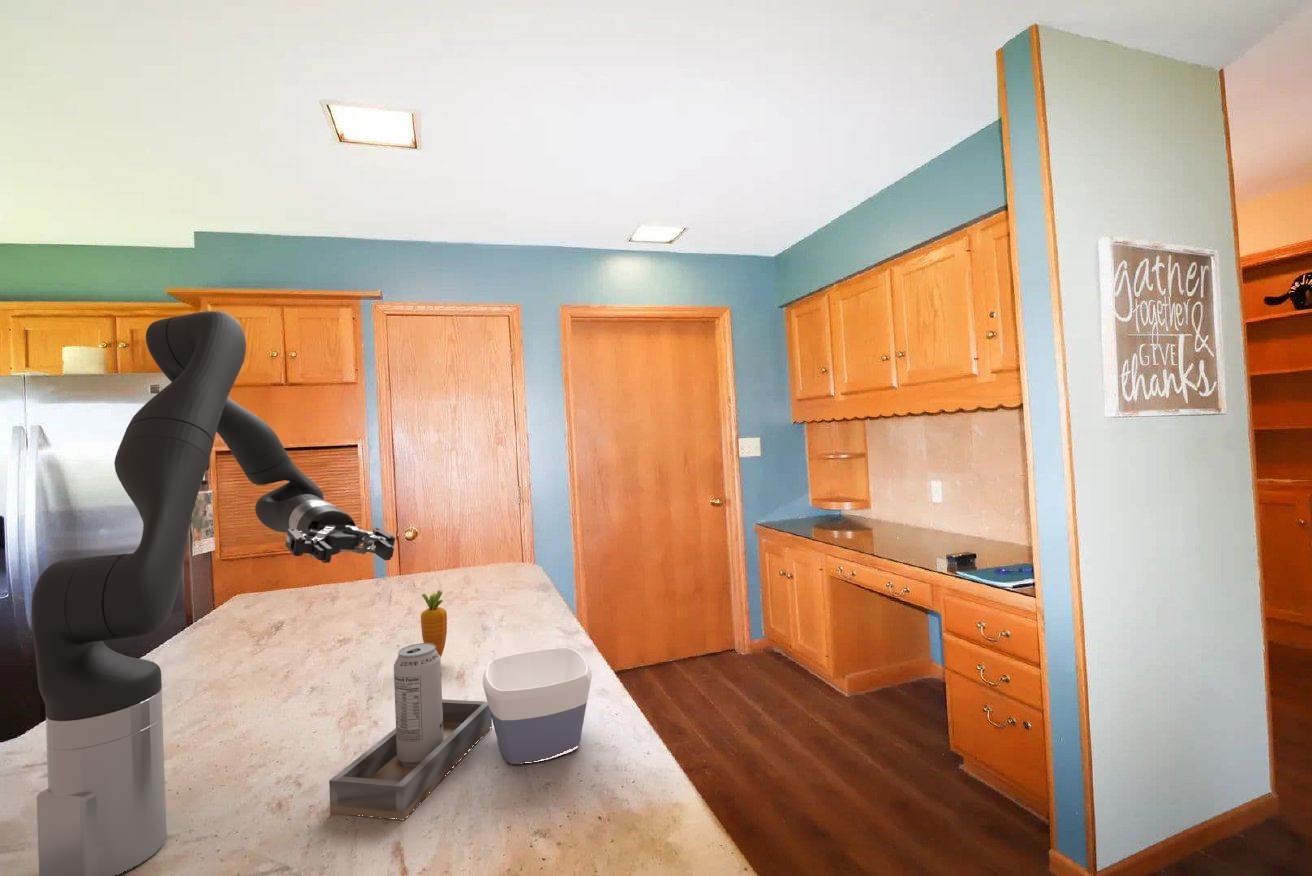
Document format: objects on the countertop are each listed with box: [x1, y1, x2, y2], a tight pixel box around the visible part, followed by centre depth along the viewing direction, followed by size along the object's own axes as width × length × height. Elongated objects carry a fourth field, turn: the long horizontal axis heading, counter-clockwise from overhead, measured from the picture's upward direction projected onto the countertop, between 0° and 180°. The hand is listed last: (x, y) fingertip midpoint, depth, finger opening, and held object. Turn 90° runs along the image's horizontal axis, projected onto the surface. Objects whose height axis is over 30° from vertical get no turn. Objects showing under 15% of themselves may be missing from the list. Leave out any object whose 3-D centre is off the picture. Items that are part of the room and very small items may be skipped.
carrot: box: [420, 589, 448, 659], centre depth 116 cm, size 5×5×15 cm
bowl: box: [482, 647, 593, 765], centre depth 84 cm, size 15×15×11 cm
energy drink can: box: [393, 642, 444, 767], centre depth 79 cm, size 6×6×15 cm
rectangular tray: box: [328, 698, 493, 819], centre depth 79 cm, size 22×10×4 cm, turn 169°
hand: (360, 555), depth 83 cm, fingers open, 8 cm apart
